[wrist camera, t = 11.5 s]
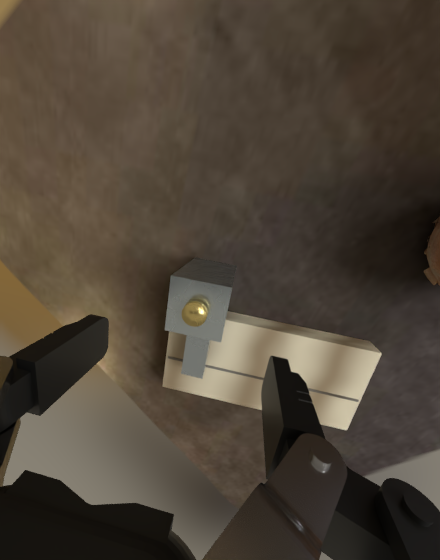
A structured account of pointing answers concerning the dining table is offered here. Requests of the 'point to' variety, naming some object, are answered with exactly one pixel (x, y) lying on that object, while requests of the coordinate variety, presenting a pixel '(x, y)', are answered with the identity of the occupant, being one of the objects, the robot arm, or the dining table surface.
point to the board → (285, 344)
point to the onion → (434, 255)
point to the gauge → (199, 308)
